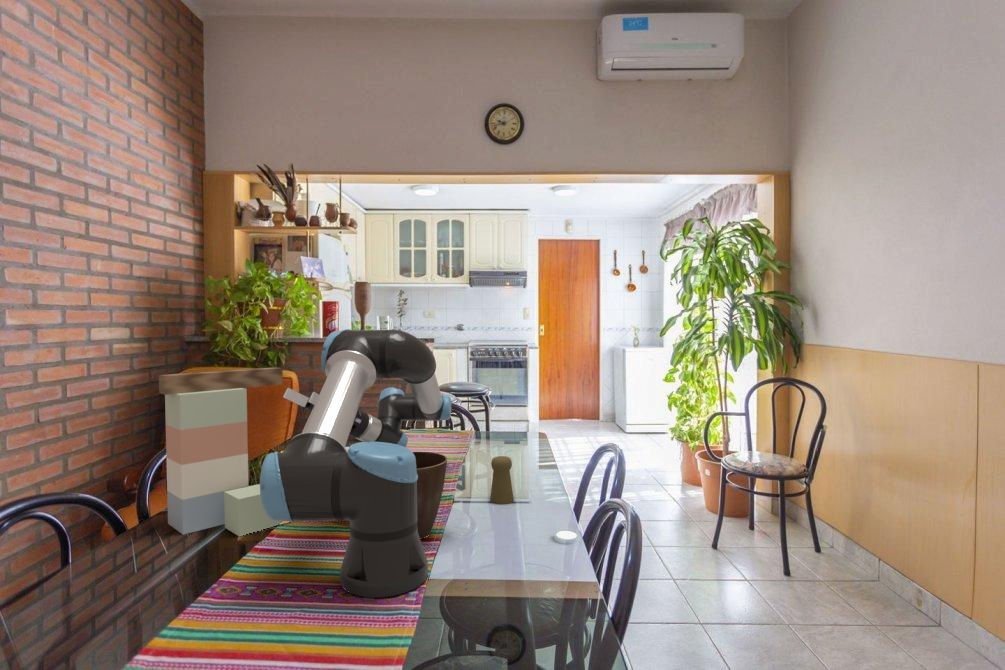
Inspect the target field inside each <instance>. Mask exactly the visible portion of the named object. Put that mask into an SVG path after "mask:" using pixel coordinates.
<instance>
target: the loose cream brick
mask: <svg viewBox="0 0 1005 670" xmlns="http://www.w3.org/2000/svg"><path fill="white" fill-rule="evenodd" d="M224 511H225V524H224V528H225V529H227V530H228V531H229V532H230V533H231V532H232V533H233V534H234V535H235V536H238V537H240V536H241V537H243V535H244V536H247V535H246V534H248V535H250V534H249V533H252V534H254V533H253V532H255V533H258V532H257V531H259V532H262V531H264V530H263V529H266V528H270V527H273V526H276V525H278V524H280V523H282V522H283V520H273V519H271V518H269V517H268V516H267V515H266V513H265V511H264V509H263V506H262V502H261V496H260V483H257V484H253V485H248V487H244V488H239V489H234V490H230V491H225V492H224ZM273 528H274V527H273ZM270 529H271V528H270ZM261 530H262V531H261ZM266 530H267V529H266Z"/></svg>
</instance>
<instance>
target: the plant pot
mask: <svg viewBox="0 0 1005 670" xmlns="http://www.w3.org/2000/svg"><path fill="white" fill-rule="evenodd" d="M412 452H413V454H414V455H415V458H416V469H417V475H418V480H417V530H418V534H419V537H420V538H424V537H426V536H428V535H429V536H430V535H431V533H432V531H433V527H434V525H435V522H436V518H437V514H438V512H439V508H440V506H441V505H440V504H441V500H442V495H443V491H444V486H445V480H446V473H447V465H448V457H447V456H446V455H444V454H441V453H437V452H432V451H431V452H430V451H412ZM429 536H428V537H429ZM426 538H427V537H426ZM424 539H425V538H424Z"/></svg>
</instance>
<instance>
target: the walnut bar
mask: <svg viewBox="0 0 1005 670" xmlns="http://www.w3.org/2000/svg"><path fill="white" fill-rule="evenodd" d="M283 380H284V379H283V368H282V367H262V368H260V367H259V368H247V369H246V368H245V369H244V368H243V369H233V370H232V369H231V370H215V371H201V372H184V373H172V374H171V373H170V374H158V394H161V395H163V396H165V395H168V394H180V393H191V392H202V391H213V390H224V389H236V388H244V389H247V388H258V387H266V386H267V387H268V386H279V385H283Z"/></svg>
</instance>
